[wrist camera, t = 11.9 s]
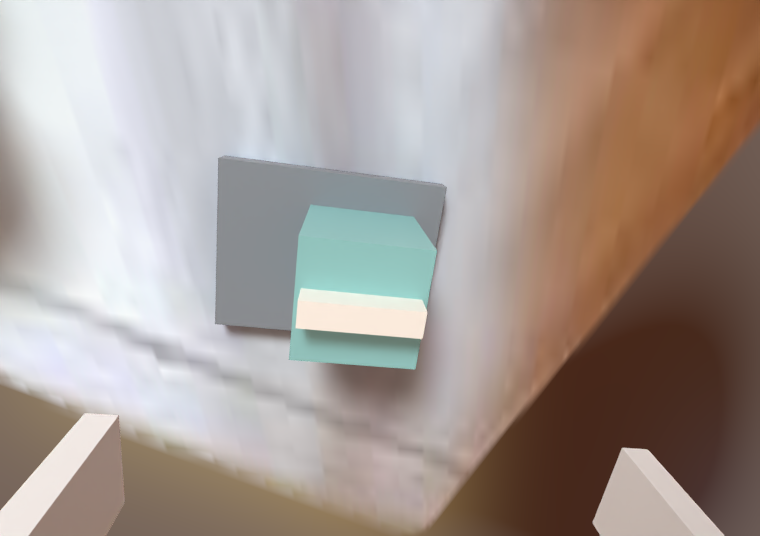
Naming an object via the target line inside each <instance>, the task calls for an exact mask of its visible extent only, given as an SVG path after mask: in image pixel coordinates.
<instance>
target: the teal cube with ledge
mask: <svg viewBox="0 0 760 536" xmlns="http://www.w3.org/2000/svg"><path fill="white" fill-rule="evenodd" d="M436 254H437V250H436V248H435V247H434V246H433V244H432V243H431V241H430V240H429V238H428V237H427V235H426V234H425V232H424V231H423V229H422V228H421V226H420V225H419V223H418V222H417V221H416V219H415V218H414V217H412V216H403V215H394V214H386V213H377V212H369V211H360V210H352V209H343V208H335V207H326V206H318V205H310V207H309V210H308V213H307V215H306V218H305V220H304V223H303V226H302V228H301V231H300V233H299V237H298V250H297V263H296V276H295V289H294V302H293V315H292V328H291V341H290V354H289V360H297V361H311V362H324V363H337V364H350V365H363V366H376V367H389V368H402V369H416V363H417V358H418V352H419V347H420V341H421V339H423V334H424V329H425V323H426V318H427V310H426V309H427V303H428V298H429V292H430V287H431V281H432V276H433V270H434V265H435V259H436Z"/></svg>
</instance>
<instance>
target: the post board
mask: <svg viewBox="0 0 760 536" xmlns="http://www.w3.org/2000/svg"><path fill="white" fill-rule="evenodd" d="M446 188H447V187H445V186H444V185H442V184H437V183H430V182H422V181H414V180H407V179H399V178H391V177H384V176H376V175H368V174H361V173H353V172H345V171H338V170H330V169H323V168H315V167H307V166H300V165H292V164H284V163H277V162H269V161H261V160H254V159H246V158H238V157H231V156H223V157H220V158H218V206H217V258H216V309H215V324H222V325H233V326H245V327H256V328H267V329H279V330H290V331H291V328H292V315H293V302H294V289H295V276H296V263H297V250H298V237H299V233H300V231H301V228H302V226H303V223H304V220H305V218H306V215H307V213H308V210H309V207H310V205H318V206H326V207H335V208H343V209H352V210H360V211H369V212H377V213H386V214H394V215H403V216H412V217H414V218H415V219H416V221H417V222H418V223H419V225H420V226H421V228H422V229H423V231H424V232H425V234H426V235H427V237H428V238H429V240H430V241H431V243H432V244H433V246H434V247H435V248H436V242H437V237H438V232H439V226H440V221H441V215H442V210H443V205H444V199H445V194H446Z"/></svg>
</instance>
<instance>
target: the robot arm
mask: <svg viewBox="0 0 760 536" xmlns="http://www.w3.org/2000/svg"><path fill="white" fill-rule="evenodd" d="M124 503H125V500H124V485H123V470H122V456H121V442H120V427H119V415H105V414H89V413H85V414H84V415H83V416H82V417H81V418H80V420H79V421H78V422H77V423H76V424H75V425H74V426H73V428H72V429H71V430H70V431H69V432H68V433H67V434H66V436H65V437H64V438H63V439H62V440H61V441H60V443H59V444H58V445H57V446H56V447H55V448H54V449H53V451H52V452H51V453H50V454H49V455H48V456H47V458H46V459H45V460H44V461H43V462H42V464H40V466H39V467H38V468H37V469H36V470H35V471H34V472H33V474H32V475H31V476H30V477H29V478H28V479H27V481H26V482H25V483H24V484H23V485H22V486H21V487H20V489H19V490H18V491H17V492H16V493H15V494H14V496H13V497H12V498H11V499H10V500H9V501H8V502H7V504H6V505H5V506H4V507H3V508H2V509H1V510H0V536H106V534H107V533H108V531H109V529H110V527H111V526H112V524H113V522H114V520H115V519H116V517H117V515H118V513H119V512H120V510H121V508H122V506H123V505H124ZM593 524H594V526H595V528H596V529H597V531H598V532H599V534H600V536H724V535H723V533H722V532H721V531H720V530H719V529H718V528H717V527H716V526H715V525H714V524H713V522H712V521H711V520H710V519H709V518H708V517H707V516H706V515H705V513H704V512H703V511H702V510H701V509H700V508H699V506H697V504H696V503H695V502H694V501H693V500H692V499H691V498H690V497H689V495H688V494H687V493H686V492H685V491H684V490H683V489H682V487H681V486H680V485H679V484H678V483H677V482H676V481H675V480H674V478H673V477H672V476H671V475H670V474H669V473H668V472H667V471H666V470H665V468H664V467H663V466H662V465H661V464H660V463H659V462H658V460H657V459H656V458H655V457H654V456H653V455H652V454H651V453H650V451H649V450H647V449H633V448H622V449H621V452H620V454H619V457H618V460H617V462H616V465H615V467H614V470H613V472H612V475H611V477H610V480H609V482H608V485H607V488H606V490H605V492H604V495H603V497H602V500H601V503H600V505H599V508H598V510H597V513H596V515H595V518H594V520H593Z"/></svg>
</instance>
